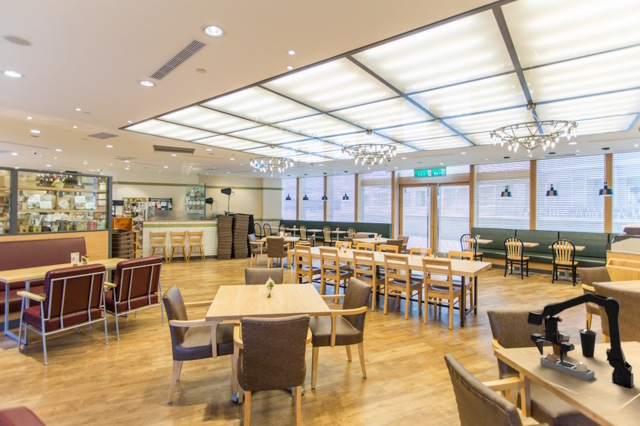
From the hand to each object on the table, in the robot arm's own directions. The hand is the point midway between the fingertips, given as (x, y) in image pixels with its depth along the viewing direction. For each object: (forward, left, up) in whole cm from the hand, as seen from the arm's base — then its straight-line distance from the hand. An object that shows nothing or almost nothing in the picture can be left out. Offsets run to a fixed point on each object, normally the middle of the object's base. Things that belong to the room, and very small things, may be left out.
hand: (551, 358), depth 170 cm
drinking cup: (-4, -32, -4) cm, 32 cm away
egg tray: (-7, 0, -4) cm, 8 cm away
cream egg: (-13, 0, -4) cm, 14 cm away
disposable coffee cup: (+5, -21, -4) cm, 22 cm away
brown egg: (0, 0, -4) cm, 4 cm away
